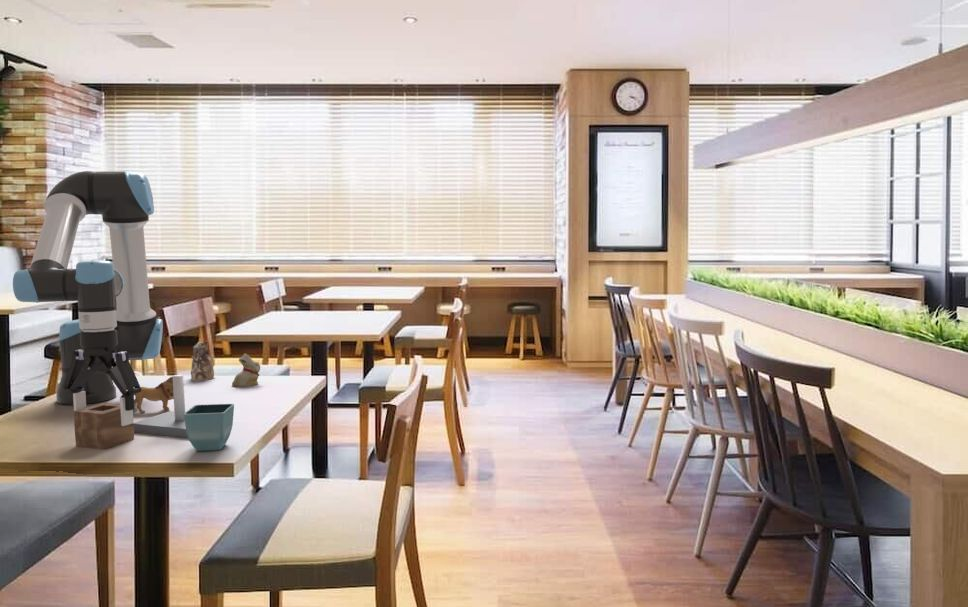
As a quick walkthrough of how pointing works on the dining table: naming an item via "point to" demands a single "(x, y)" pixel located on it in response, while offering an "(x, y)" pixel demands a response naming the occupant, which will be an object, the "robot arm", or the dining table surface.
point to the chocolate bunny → (247, 372)
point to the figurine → (201, 363)
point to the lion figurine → (155, 395)
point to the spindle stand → (167, 415)
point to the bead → (101, 426)
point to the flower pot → (209, 425)
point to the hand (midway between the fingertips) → (103, 422)
